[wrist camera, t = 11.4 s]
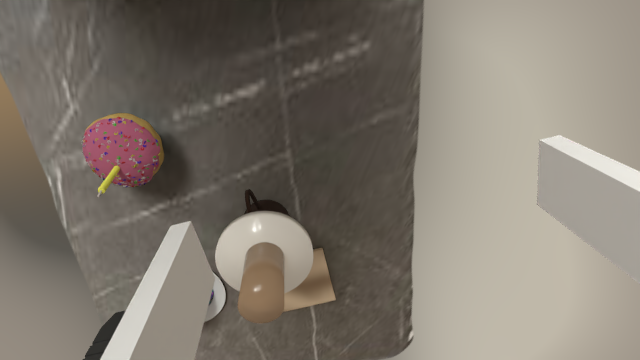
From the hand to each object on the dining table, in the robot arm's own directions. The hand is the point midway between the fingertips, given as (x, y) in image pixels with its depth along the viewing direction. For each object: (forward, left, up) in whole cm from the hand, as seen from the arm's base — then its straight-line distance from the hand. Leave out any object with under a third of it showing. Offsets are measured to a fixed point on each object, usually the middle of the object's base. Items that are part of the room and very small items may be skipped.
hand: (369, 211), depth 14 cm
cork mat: (+30, -9, -35) cm, 47 cm away
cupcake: (+3, -23, -35) cm, 42 cm away
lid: (+17, -10, -25) cm, 32 cm away
